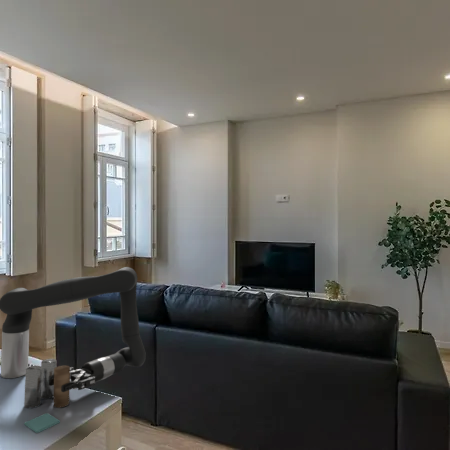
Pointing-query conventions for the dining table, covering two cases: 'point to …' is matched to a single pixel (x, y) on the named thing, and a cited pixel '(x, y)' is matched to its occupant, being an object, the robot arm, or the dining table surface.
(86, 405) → the dining table surface
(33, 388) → the silver tall tapered cylinder
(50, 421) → the teal mat
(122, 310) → the robot arm
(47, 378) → the shiny grey metal cylinder
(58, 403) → the cylinder
